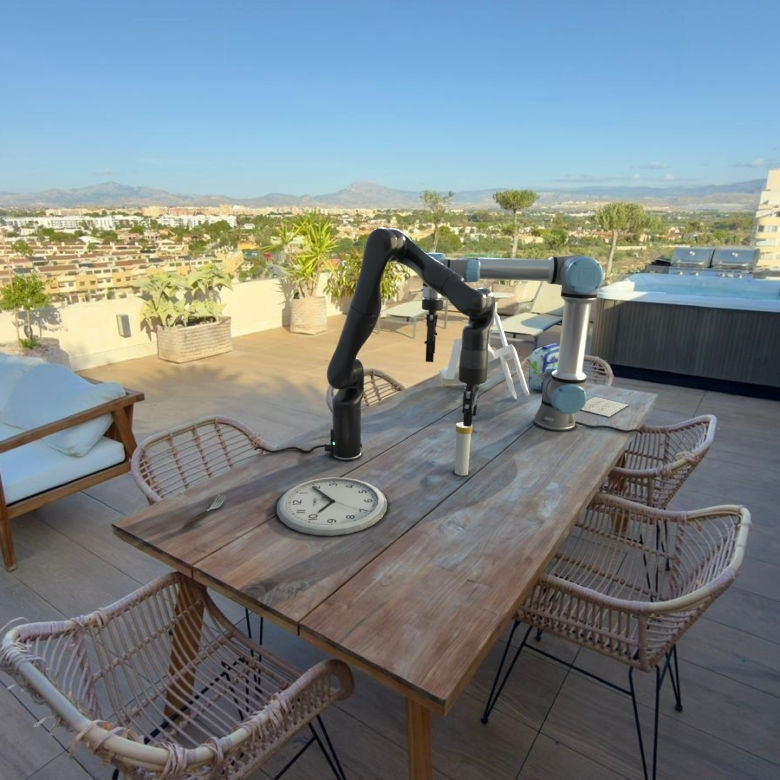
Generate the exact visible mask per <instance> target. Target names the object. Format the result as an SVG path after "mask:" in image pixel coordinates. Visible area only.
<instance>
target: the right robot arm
mask: <svg viewBox="0 0 780 780" xmlns="http://www.w3.org/2000/svg"><path fill="white" fill-rule="evenodd" d="M427 254H428V255H429V256H431V257H432V258H434V259H435V260H437V261H438V262H440V263H441V264H443V265H445V266H446V267H448V268H450V269H451V270H453V271H454V272H456V273H457V274H459V275H460V276H462V277H463V278H464V280H465V283H468V284H470V283H477V282H479V281H480V280H495V281H497V280H499V281H500V280H501V281H526V282H527V281H531V282H546V283H547V284H548V285H557V286H561V289H560V298H561V299H562V300H563V303H564V305H563V313H562V322H561V330H560V339H559V344H560V346H559V355H558V364H557V366H553V367H547V368H546V369H545V373H544V382H543V391H541V392H542V394H541V402H540V405H539V407H538V410H537V411H536V413H535V417H534V424H535V425H536V426H537V427H539V428H542V429H544V430H549V431H556V432H567V431H572V430H574V429H575V428H576V425H579V426H582V427H586V428H588V429H589V428H590V429H610V430H613V431H616V432H621V433H629V434H630V433H634V432H637V433H639V434H640V435H644V432H643V431H642V430H641V429H639V428H632V429H622V428H618V427H615V426H611V425H606V424H605V425H603V424H600V425H599V424H597V425H595V424H593V425H592V424H587V423H585V422H581V421H577V420H576V418H575V417H576V416H575V414H576V413H579V412H580V411H582V410H581V409H582V408H583V407H584V406H585V404H586V401H588V397H587V392H586V389H585V388H586V383H587V382H586V381H587V375H586V374H585V373H584V371H583V369H584V361H585V355H586V347H587V339H588V338H587V337H588V330H589V324H590V318H591V317H590V316H591V308H592V303H593V302H594V301H596V300H597V298H598V294H599V293H598V291H599V288H601V285H602V284H603V281H604V269H603V267H602V265H601V264H600V262H599V261H597V260H596V259H595V258H594V257H592V256H587V255H581V254H574V255H573V254H572V255H565V256H551V257H549V258H548V259H545V258H544V259H543V258H542V259H541V258H540V259H539V258H501V257H500V258H497V257H496V258H495V257H494V258H492V257H466V256H460V257H457V258H455V259H451V258H449V259H448V258H447V257H446V253H444V252H427ZM420 292H421V293H422V294H421V296H422V299H421V309H422V310H423V311H428V313H426V316H425V320H426V340H424V342H423V343H424V344H425V362H426V363H434V359H435V357H434V356H435V353H436V338H437V337H436V336H438V332H437V329H436V328H437V324H438V318H439V315H438V314H437V311H438V312H439V311H442V310H444V299H443V298H444V297H443V296H442V295H440V294H439V293H437V292H436V291H434V290H433V289H431V288H430V287H429V286H427V285H426V284H425V283H424V282H423V281H422V288H420Z"/></svg>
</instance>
